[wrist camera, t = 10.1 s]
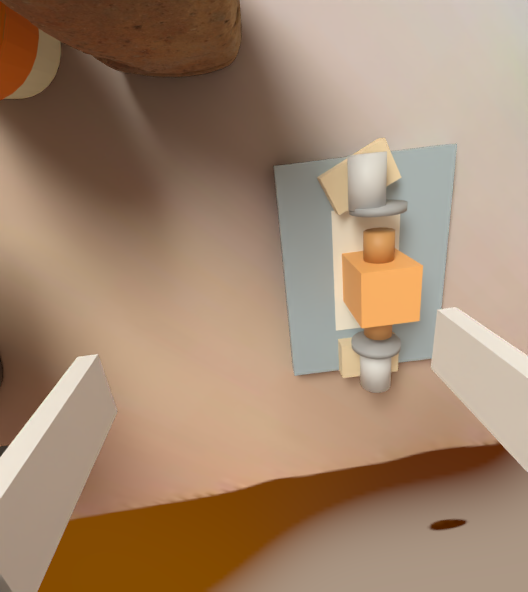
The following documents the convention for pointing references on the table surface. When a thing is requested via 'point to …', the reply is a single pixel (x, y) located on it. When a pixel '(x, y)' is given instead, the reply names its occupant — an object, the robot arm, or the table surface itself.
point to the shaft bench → (349, 238)
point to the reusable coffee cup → (25, 56)
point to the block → (143, 32)
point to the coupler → (381, 284)
